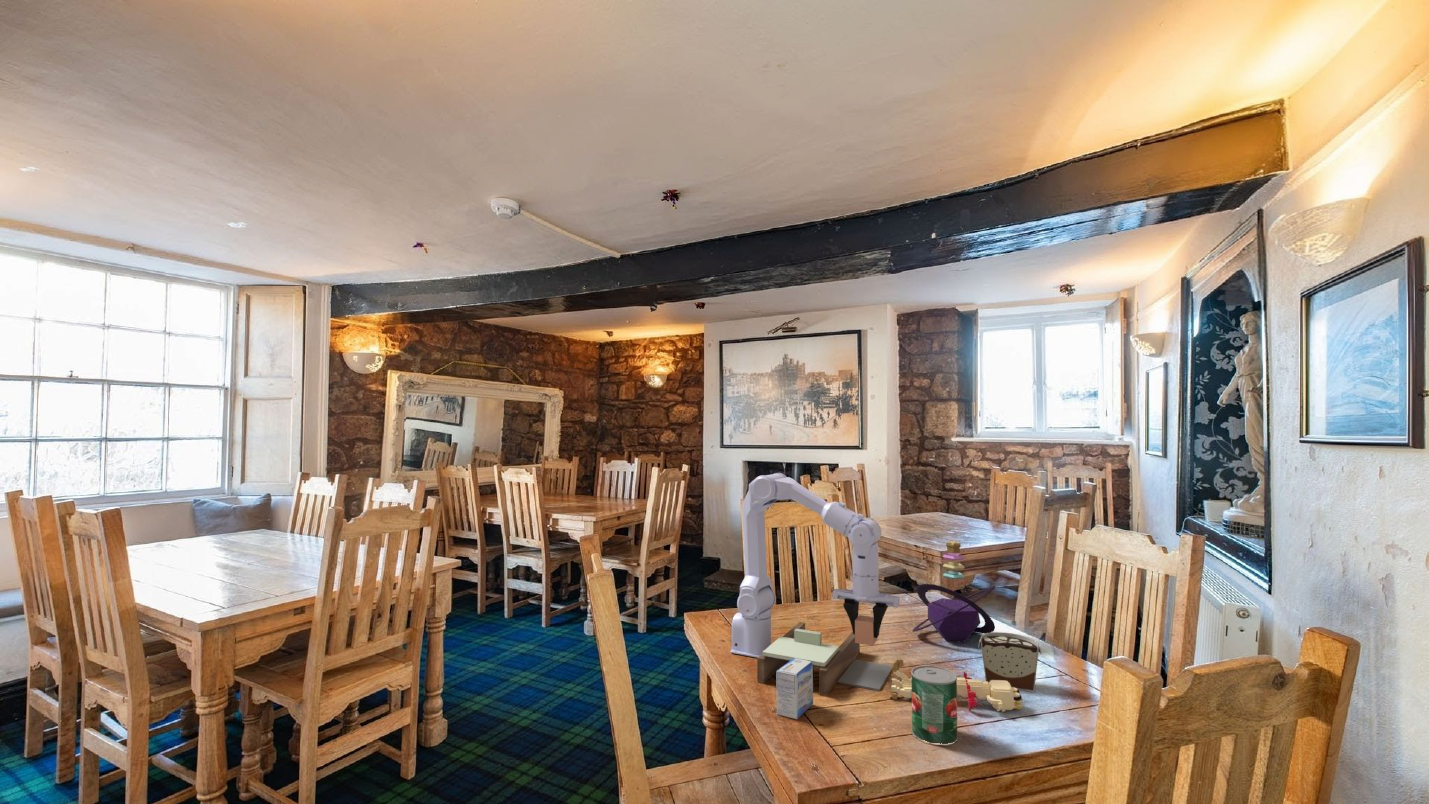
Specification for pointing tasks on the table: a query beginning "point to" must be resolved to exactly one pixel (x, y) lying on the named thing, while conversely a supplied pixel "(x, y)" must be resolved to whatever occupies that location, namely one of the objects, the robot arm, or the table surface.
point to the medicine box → (794, 688)
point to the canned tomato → (934, 704)
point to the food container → (1010, 659)
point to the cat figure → (967, 690)
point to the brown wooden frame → (826, 674)
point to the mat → (866, 675)
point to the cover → (802, 648)
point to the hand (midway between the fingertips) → (866, 635)
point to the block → (864, 630)
